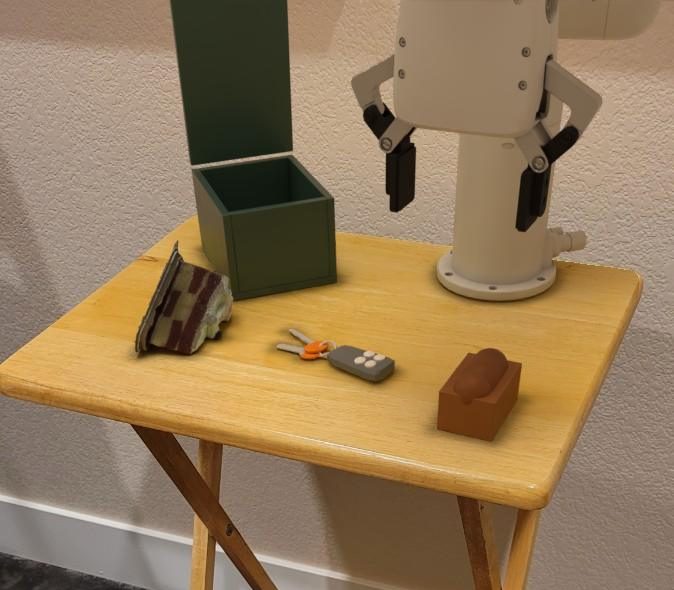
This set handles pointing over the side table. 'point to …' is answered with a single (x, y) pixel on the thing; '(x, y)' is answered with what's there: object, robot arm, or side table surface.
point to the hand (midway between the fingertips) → (462, 215)
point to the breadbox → (266, 225)
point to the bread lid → (234, 77)
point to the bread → (479, 394)
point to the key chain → (345, 357)
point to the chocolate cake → (185, 307)
